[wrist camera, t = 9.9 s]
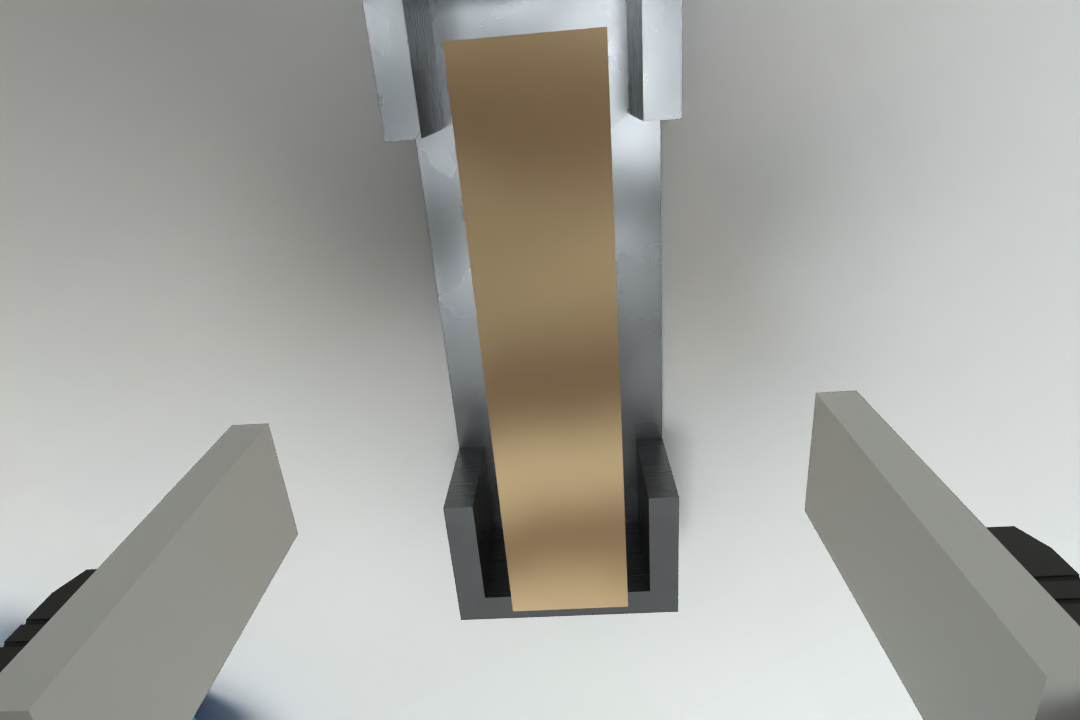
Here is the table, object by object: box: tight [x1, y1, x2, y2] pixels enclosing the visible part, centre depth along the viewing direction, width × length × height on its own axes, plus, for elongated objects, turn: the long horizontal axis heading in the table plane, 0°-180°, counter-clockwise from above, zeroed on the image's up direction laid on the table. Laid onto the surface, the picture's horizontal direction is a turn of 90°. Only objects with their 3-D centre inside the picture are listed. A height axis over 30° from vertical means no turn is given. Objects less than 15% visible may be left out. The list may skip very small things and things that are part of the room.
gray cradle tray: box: [362, 0, 682, 620], centre depth 22 cm, size 22×8×5 cm, turn 4°
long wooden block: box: [442, 27, 628, 611], centre depth 22 cm, size 18×4×5 cm, turn 5°
